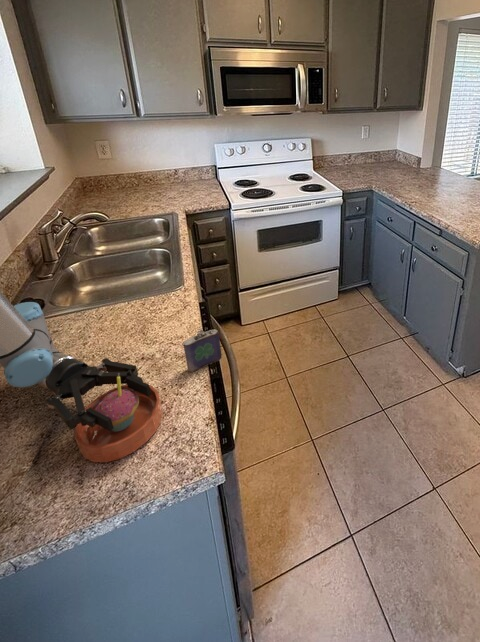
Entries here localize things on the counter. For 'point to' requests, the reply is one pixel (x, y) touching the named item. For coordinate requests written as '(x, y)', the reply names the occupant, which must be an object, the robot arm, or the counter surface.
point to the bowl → (116, 445)
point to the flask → (202, 349)
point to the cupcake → (119, 406)
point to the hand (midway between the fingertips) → (130, 406)
